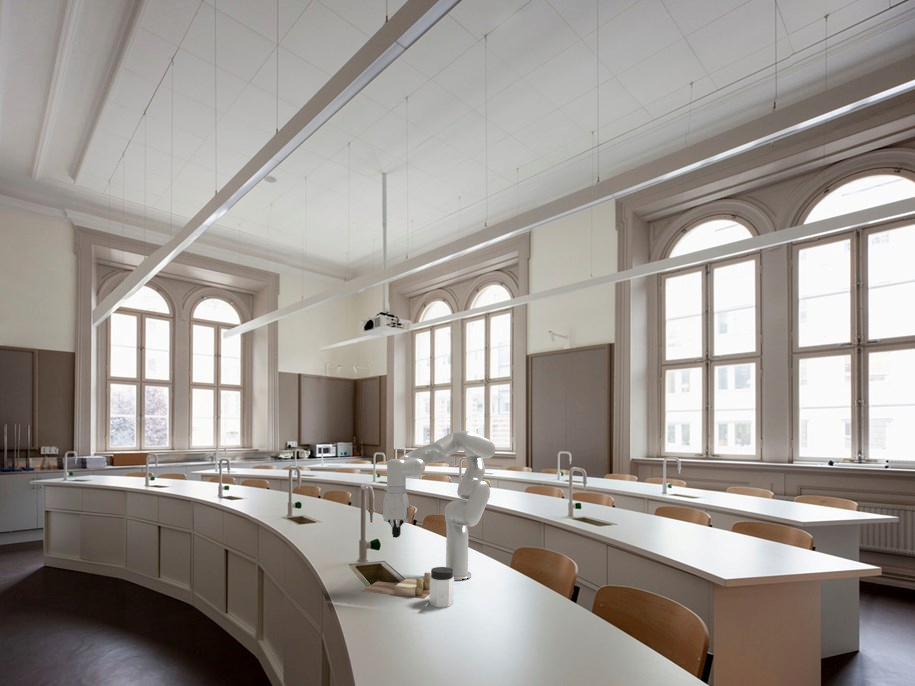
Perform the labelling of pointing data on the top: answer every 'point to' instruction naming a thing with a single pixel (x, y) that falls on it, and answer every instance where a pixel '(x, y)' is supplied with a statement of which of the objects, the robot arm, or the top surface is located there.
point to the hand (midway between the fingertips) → (396, 536)
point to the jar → (441, 587)
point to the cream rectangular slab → (407, 587)
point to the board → (390, 587)
